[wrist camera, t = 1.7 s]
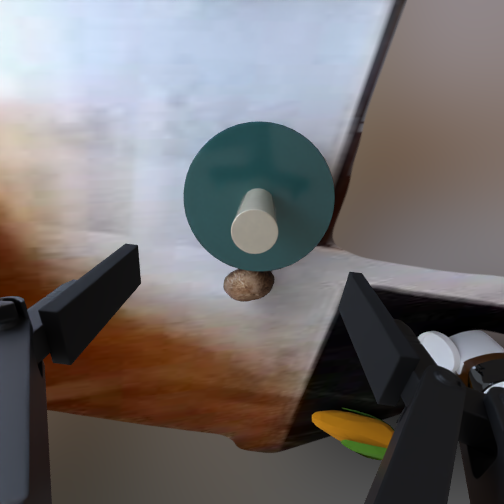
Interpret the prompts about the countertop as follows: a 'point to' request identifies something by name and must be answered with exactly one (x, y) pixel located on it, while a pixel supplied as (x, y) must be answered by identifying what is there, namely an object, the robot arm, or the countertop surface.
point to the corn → (356, 431)
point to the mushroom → (248, 284)
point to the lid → (259, 196)
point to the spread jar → (468, 356)
